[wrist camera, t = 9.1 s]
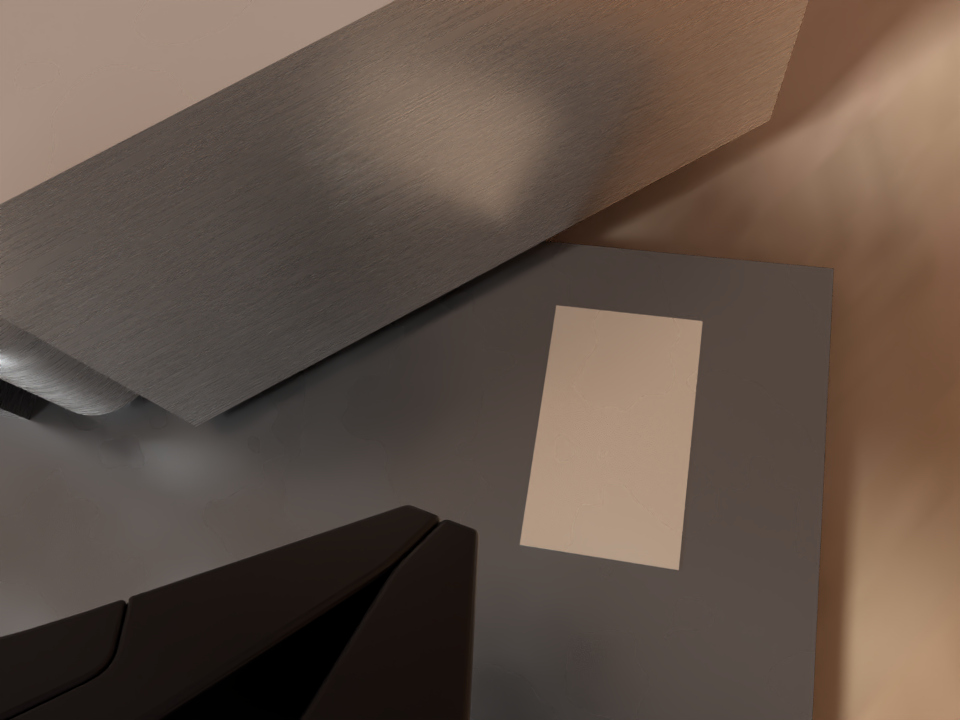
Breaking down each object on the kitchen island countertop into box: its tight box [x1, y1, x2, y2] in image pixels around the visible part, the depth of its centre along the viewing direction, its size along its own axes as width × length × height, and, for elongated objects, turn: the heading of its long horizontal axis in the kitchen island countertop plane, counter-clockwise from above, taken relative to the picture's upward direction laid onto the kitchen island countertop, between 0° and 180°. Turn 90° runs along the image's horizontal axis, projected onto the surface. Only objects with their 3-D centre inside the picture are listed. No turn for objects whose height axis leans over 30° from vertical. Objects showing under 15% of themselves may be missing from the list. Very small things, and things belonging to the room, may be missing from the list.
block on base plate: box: [0, 241, 834, 720], centre depth 12 cm, size 20×19×10 cm
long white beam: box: [0, 0, 809, 426], centre depth 15 cm, size 5×16×8 cm, turn 118°
